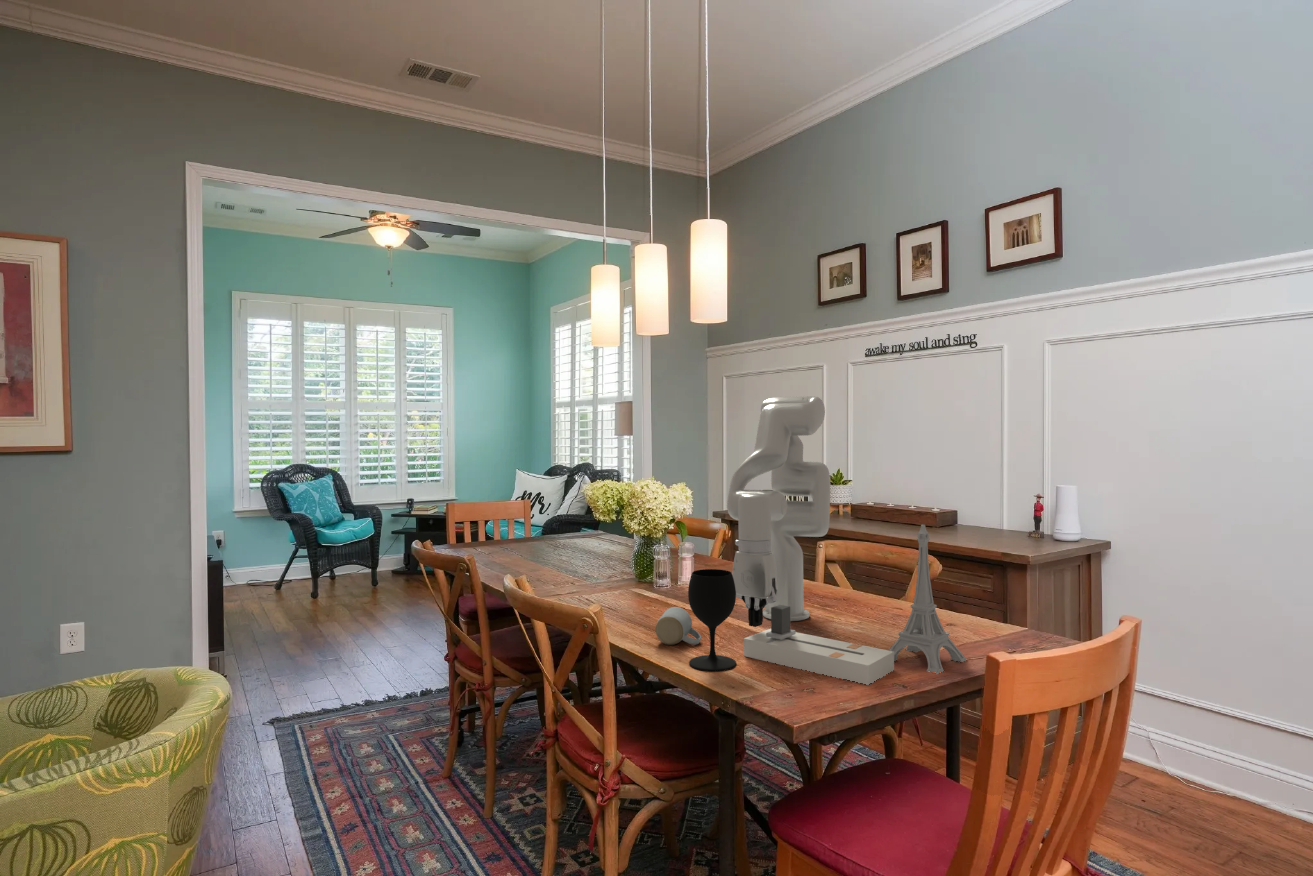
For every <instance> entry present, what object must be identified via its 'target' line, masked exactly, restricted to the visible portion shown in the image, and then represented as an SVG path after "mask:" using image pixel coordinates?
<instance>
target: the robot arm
mask: <svg viewBox="0 0 1313 876" xmlns="http://www.w3.org/2000/svg"><path fill="white" fill-rule="evenodd" d="M825 414H826V409H825V404H824V401H823V400H822V398H821V397H819V396H779V397H770V398H767V399H765V400H764V401H763V402H762V403H761V405H760V415H759V419H758V425H757V426H758V427H757V430H756V431H757V433H756V436H755V437H756V438H755V444H754V445H755V446H754V451H753V453H752V454H751V455H750V456H748V457H747V458H745V460H744V461H743V462H742V463H741V464H740V465H739V466H738V467H737V468H736V470H735V471H734V472H733V474H732V477H731V480H730V484H729V489H728V495H727V500H726V501H727V502H726V503H727V505H726V506H727V507H726V508H727V513H728V515H729V516H730V518H732V519H733V520H736V521H738V539H736V540H735V541H734V544H735V545H736V546H737V547H738V550H736V551H735V554H734V559H733V564H732V572H731V573H732V576H733V579H734V583H735V588H736V598H737V599H740V600H742V601H743V603H744V604H745V608H746V609H748V610H747V611H748V612H747V614H748V616H747V617H748V618H747V619H748V626H749V627H754V628H757V627H760V626H762V625H763V623H764V618H766V619H769V620H771V607H774V606H777V605H784V606H790V622H798V621H804V620H807V619H809V617H810V612H809V610H808V609H805V608H804V553H803V549H802V547H801V545H800V544H799V542H798V541H797V540H796V538H795V537H807V538H808V537H809V538H811V537H813V538H814V537H815V538H819V537H820V538H821V537H824V536H826V535H827V533H828V531H829V530H830V529H829V528H830V517H831V515H830V514H831V513H830V512H831V511H830V510H831V475H830V470H829V468H828V467H827V465H826V464H825V463H823V462H820V461H804V444H803V442H802V440H801V437H799V436H812V435H814V434H816V432H817V431H818V430H819V428H820V427H822V424H823V423H824V420H825ZM768 472H771V475H770V476H771V479H770V482H771V483H770V484H771V489H772V490H769V489H767V490H764V489H762V490H761V489H745V488H746V486H747V485H748V483H750V482H751V481H752V480H753V479H755V478H757V477H759V476H761V475H763V474H766V473H768ZM786 497H810V498H812V501H807V500H805V501H804V500H802V501H801V500H787V498H786Z"/></svg>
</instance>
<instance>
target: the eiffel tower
mask: <svg viewBox="0 0 1313 876" xmlns="http://www.w3.org/2000/svg"><path fill="white" fill-rule="evenodd" d="M916 540H917V543H918V560H917V561H918V563H917V576H916V584H915V592H914V599H913V604H910V608H911V611H910V615H909V616H908V619H907V621H906V624H905V626H904V629H903V630H902V631H900V632H898V634H897V635H898V636H899V637H898V638H897V639H896V641H895V642H894V643H893V644H892V645H891V647H890V648H889V649H888V651H893V652H894V661H895V662H897V661H899V658H898V656H899V654H900V652H901V651H902V650H903V649H906V650H905V651H907V650H908V651H909V652H912V651H913V652H912V653H918V651H919V652H921V651H922V652H923V654H924V655H925V657H926V661H927V669H926V672H927V671H930V672H929V673H931V672H936V673H938V674H937V675H940V674H941V673H940V672H942V673H944V672H945V671H944V670H945V669H944V668H943V666H942V662H941V657H940V656H941V655H940V653H941V648H943V649H945V650H946V651H947V653H948V654H949V656H950V659H949V660H950V661H951V660H954V661H953V662H956V661H960V662H963V661H965V662H967V661H968V660H969V659H968V658H966V657H965V656H964V654H963V653H962V652H961V650H960V649H959V648H958V647H957V646H956V644H955V643H954V642H953V640H951V639H950V637H949V636H950V632H947V631H945V629H944V627H943V625H942V623H941V621H940V618H939V616H938V613H937V610H936V608H938V607H937V604H935V602H934V598H933V590H932V584H931V576H930V575H931V573H930V565H929V564H930V563H929V562H930V561H929V548H928V544H929V541H930V540H931V538H930V535H929V531H928V530H927V528H926V524H921V525H920V528H919V531H918V532H917V538H916ZM908 651H907V652H908ZM896 660H897V661H896ZM966 660H967V661H966ZM960 662H959V663H960ZM963 663H964V662H963ZM943 671H944V672H943ZM939 673H940V674H939Z"/></svg>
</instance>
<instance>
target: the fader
mask: <svg viewBox="0 0 1313 876" xmlns="http://www.w3.org/2000/svg"><path fill="white" fill-rule="evenodd" d="M770 625H771V626H770V629H771V631H770V632H767V633H766V637H771V638H776V639H780V640H782V639H784V638H787V637H789V636H792V635H794V634H796V632H797V631H796V630H795V629H791V621H790V606H784V605H777V606H774V607H771V619H770Z"/></svg>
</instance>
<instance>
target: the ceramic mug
mask: <svg viewBox="0 0 1313 876" xmlns="http://www.w3.org/2000/svg"><path fill="white" fill-rule="evenodd" d="M692 620H693V619H692V617H691V615H690V614H689V612H688V611H687V610H686V609H684V608H681V607H680V606H671V607H668V608H667V609H665V611H664V612H663V613H662V615H660V617H659V618H658V620H657V622H656V625H655V634H656V637H657V639H658V640H659V641H660V642H661V643H663V644H664V645H669V646H673V645H677V644H679V643H681V642H682V641H683V642H685V643H687V644H689V645H692V646H693V645H696V646H697V645H698V644H700V642H701V640H702V636H701V634H700V633H699V631H697V630H696V629H694V628H693V627H692V626H693V621H692ZM689 634H690V635H691V636H693V637H694V638H693V637H691V636H688V635H689Z"/></svg>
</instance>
